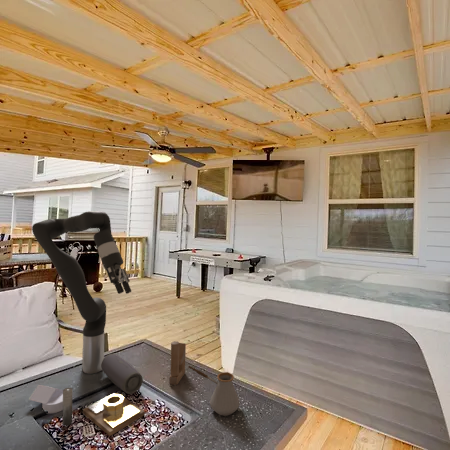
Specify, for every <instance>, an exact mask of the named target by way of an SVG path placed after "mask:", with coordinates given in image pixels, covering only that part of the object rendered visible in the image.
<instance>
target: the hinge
mask: <svg viewBox="0 0 450 450" xmlns="http://www.w3.org/2000/svg"><path fill="white" fill-rule="evenodd" d="M124 398H125V397H124V396H123V394H119V393H118V394H115V392H113V393H112V394H110V395H108V396H105V397H104V398H101V399H100V400H98V401H95V402H94V403H91V404H89V405H88V406H86V408H88V409H89V410H90V411H92V412H93V413H94V414H95V415H97V414H99V413H101V412H102V411H103V414H104V415H106V416H108V417H107V418H105V419H104V422H105V423H107V424H108V425H109V426H110V427H111V428H113V429H114V428H115V427H117V426H119V425H120V424H122V423H124V422H125V421H127V420H129V419H130V418H132V417H134V416H135V415H137V414H139V413H140V411H139V410H138V409H136V408H135V407H134V406H132V405H131V404H130V405H128V406H127V407H125V408H124Z"/></svg>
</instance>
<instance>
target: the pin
mask: <svg viewBox="0 0 450 450" xmlns="http://www.w3.org/2000/svg"><path fill="white" fill-rule="evenodd" d="M62 390H63V410H62V426H63V427H68V426H70V425H72V423H73V388H72V387H66V388H63V389H62Z"/></svg>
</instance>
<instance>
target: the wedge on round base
mask: <svg viewBox="0 0 450 450" xmlns="http://www.w3.org/2000/svg"><path fill="white" fill-rule="evenodd" d="M63 390H64V389H60V388H55V387H51V386H48V385H42V384H38V385H37V386H36V387H35V389H34V391H33V392H32V394H31V395H30V397H29V398H28V400H29V401H31V402H32V401H33V402H37V403H41V404H42V405H41V406H42V408H43V409H44V410H47V411H48V413H47V414H56V413H58V412H59V413H60V412H63Z"/></svg>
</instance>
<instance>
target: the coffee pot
mask: <svg viewBox="0 0 450 450" xmlns="http://www.w3.org/2000/svg"><path fill="white" fill-rule="evenodd" d="M189 369H191V371H192V372H195V373H196V374H198V375H199V376H202V377H203V378H205V379H208V380H210V381H211V382H213V383H214V384H216V387H215V388H214V391H213V393H212V395H211V397H210V400H209V403H210V404H209V405H210V407H211V409H212V410H213V411H214V412H215V413H216V414H218V415H220V416H225V417H227V416H231V415H232V414H233V413H235V412H236V411H237V410H238V408H239V406H240V398H239V396H238V394H237V390H236V388H235V386H234V384H233V381H234V378H235V376H234V374H233V373H231V372H229V371H224V372H220V373H218V374H217V376H216V377H217V380H218V381H217V380H216V379H214V378H212V377H210V376H208V375H207V374H206V373H204V372H202V371H201V370H199V369H197V368H195V367H192V366H191V365H188V367H187V369H186V371H188V370H189Z"/></svg>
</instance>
